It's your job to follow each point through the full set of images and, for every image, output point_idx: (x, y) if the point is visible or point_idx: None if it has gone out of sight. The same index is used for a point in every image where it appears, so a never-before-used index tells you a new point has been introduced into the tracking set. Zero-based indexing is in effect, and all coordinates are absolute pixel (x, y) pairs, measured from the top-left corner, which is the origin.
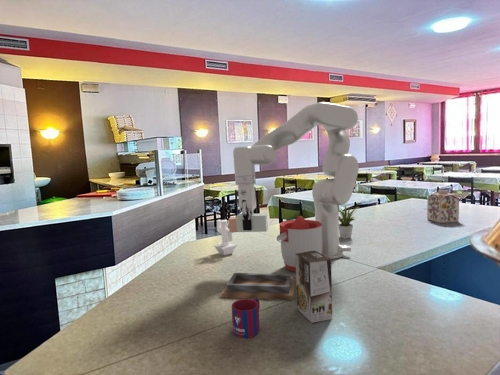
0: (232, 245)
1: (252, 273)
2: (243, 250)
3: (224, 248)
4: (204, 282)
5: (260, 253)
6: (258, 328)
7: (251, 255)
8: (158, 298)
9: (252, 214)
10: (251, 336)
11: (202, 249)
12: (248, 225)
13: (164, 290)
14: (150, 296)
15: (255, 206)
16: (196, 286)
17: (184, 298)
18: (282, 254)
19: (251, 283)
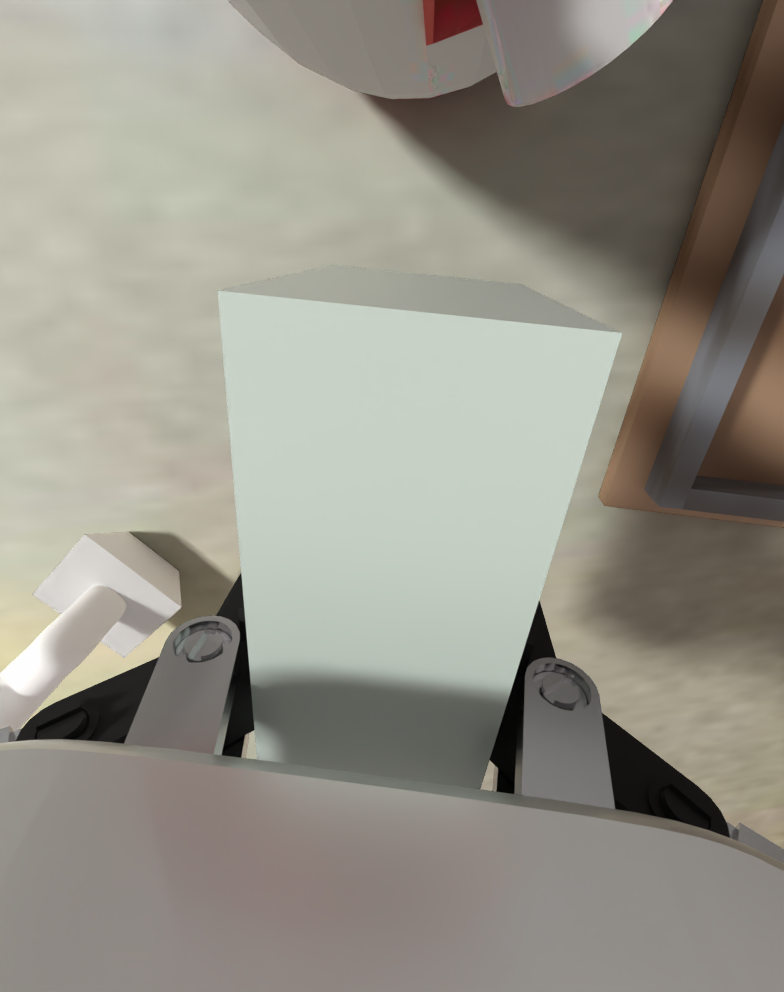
0: (96, 559)
1: (710, 385)
2: (49, 470)
3: (172, 599)
4: (602, 618)
5: (82, 345)
6: None
7: (142, 410)
8: (739, 745)
9: (338, 674)
10: None
11: (97, 678)
12: (539, 610)
13: (657, 740)
14: (707, 769)
15: (149, 820)
16: (647, 643)
17: (780, 668)
18: (470, 82)
19: (770, 379)
